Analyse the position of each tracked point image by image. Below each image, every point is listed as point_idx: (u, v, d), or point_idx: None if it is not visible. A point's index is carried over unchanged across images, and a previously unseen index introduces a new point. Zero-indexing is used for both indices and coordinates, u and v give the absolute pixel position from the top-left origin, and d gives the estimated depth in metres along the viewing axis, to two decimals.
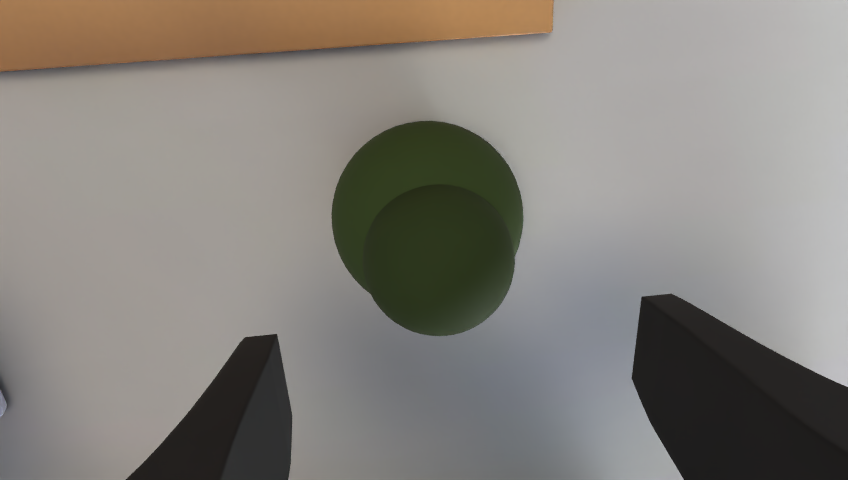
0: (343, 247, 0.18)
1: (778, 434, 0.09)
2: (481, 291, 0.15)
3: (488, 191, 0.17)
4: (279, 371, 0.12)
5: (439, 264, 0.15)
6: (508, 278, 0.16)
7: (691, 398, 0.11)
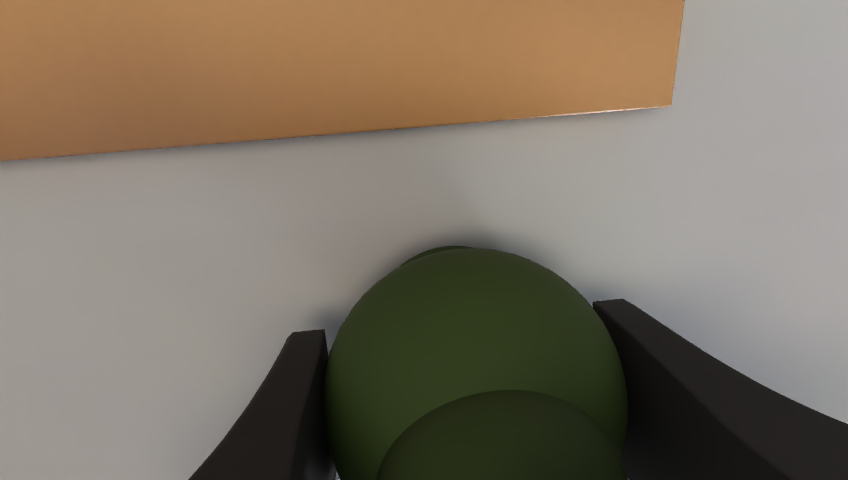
0: (339, 467, 0.11)
1: (710, 442, 0.09)
2: None
3: (584, 391, 0.10)
4: None
5: None
6: None
7: (636, 404, 0.11)
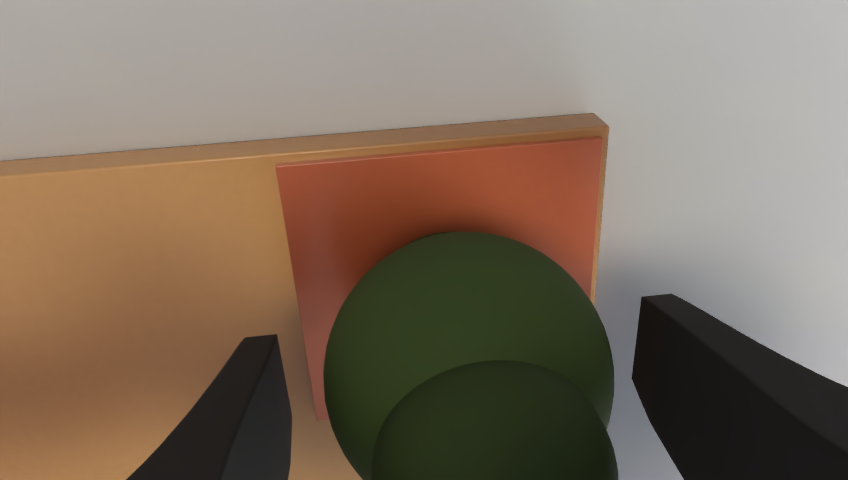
0: (340, 437, 0.11)
1: (778, 434, 0.09)
2: None
3: (572, 363, 0.10)
4: (279, 371, 0.12)
5: None
6: None
7: (691, 398, 0.11)
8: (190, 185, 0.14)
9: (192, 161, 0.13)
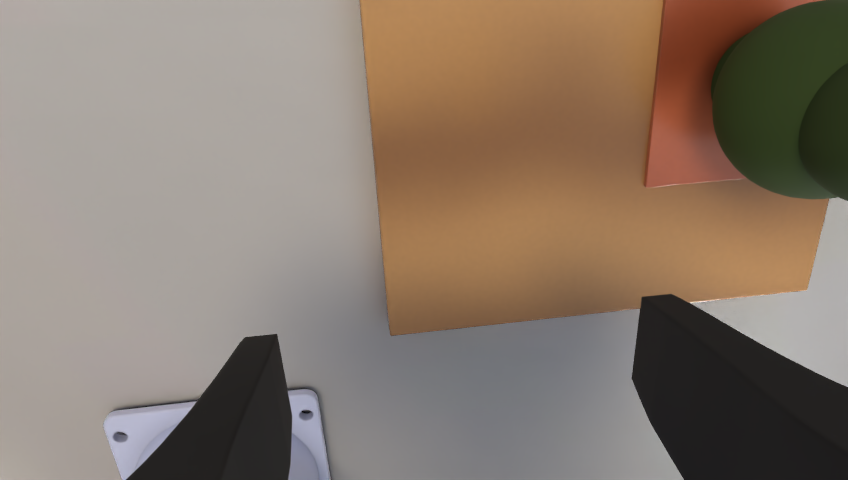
0: (761, 124, 0.17)
1: (778, 434, 0.09)
2: None
3: None
4: (279, 371, 0.12)
5: None
6: None
7: (691, 398, 0.11)
8: None
9: None
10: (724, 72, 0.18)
